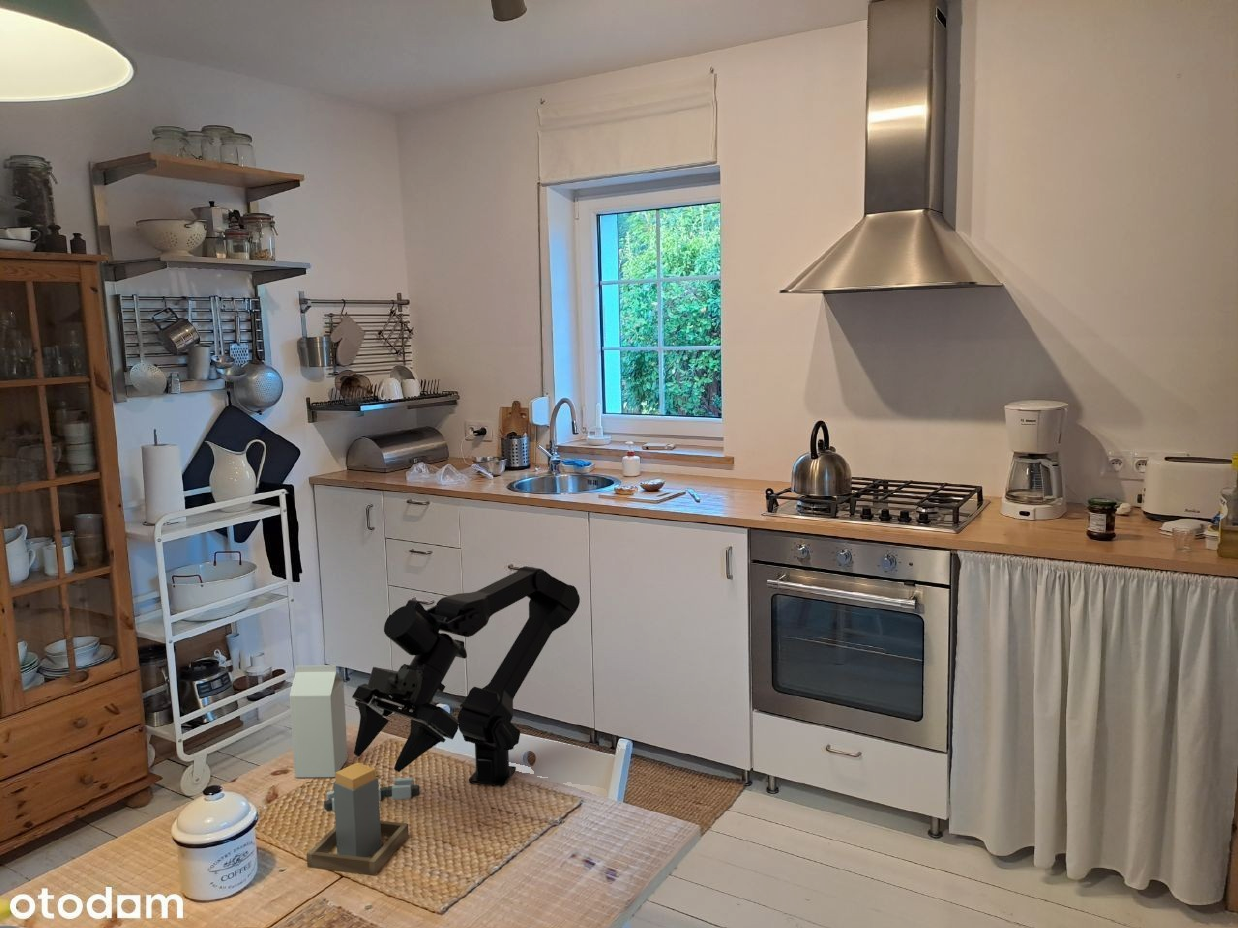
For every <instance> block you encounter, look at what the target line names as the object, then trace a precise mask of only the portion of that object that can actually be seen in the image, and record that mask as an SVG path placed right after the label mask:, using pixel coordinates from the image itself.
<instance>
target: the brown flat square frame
mask: <svg viewBox="0 0 1238 928" xmlns="http://www.w3.org/2000/svg"><path fill="white" fill-rule="evenodd" d="M380 825H381V837H389V838H388V840H387V841H386V842H385V843H384V844H383V845H382V848H381V849H380V850H379V851H378V852H376V853H374V854H373V856H372V858H371V857H367V858H365V857H356V856H348V855H340V854H337V853H331V852H330V851H331V850H332V848H333V847H334V846H335V845H337V840H336V825H335V826H333V827H332V829H330V830H329V831H328V832H327V833H326V834H325V835H324V836H323V837H322V838H321V839H320V840H319V841H318V842H317V843H316V844H315V845H314V846H313V847H312V848H311V849H310V850H308V851H307V852H306V867H307V868H312V869H313V868H314V869H320V870H328V871H338V872H345V873H352V874H353V873H354V874H360V875H368V876H376V875H377V874H378V873H379V871H381V869H382V868H383V867H384V866H385V864H386V863H387V862H388V861H389V860H390V859H391V858H392V856H393V855H394V853H396V851H397V850H398V849H400V847H401V846H402V844H403V843H404V842H405V841H406V840H407V839H408V838H409V836H410V835H409V823H408V822H407V823H404V822H396V821H389V820H388V821H387V820H380Z"/></svg>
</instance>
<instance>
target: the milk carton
mask: <svg viewBox="0 0 1238 928" xmlns="http://www.w3.org/2000/svg"><path fill="white" fill-rule="evenodd" d="M344 685H345V684H344V679H343V678H342V676H341V675H340V674H339V672H338V671H337V665H331V664H330V665H295V673H294V678H293V682H292V685H291V689H290V692H289V704H290V705H289V706H290V707H289V708H290V723H291V724H290V725H291V736H292V737H291V739H292V755H293V756H292V757H293V770H294V778H335V773H336V772H338V771H340V770H342V768H343V767H344V765H345V763H346V762H347V761H348V740H347V738H348V736H347V721H346V703H345V702H346V701H345V686H344Z"/></svg>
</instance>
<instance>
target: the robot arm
mask: <svg viewBox="0 0 1238 928" xmlns="http://www.w3.org/2000/svg"><path fill="white" fill-rule="evenodd" d="M525 598H528V599H529V601H528V618H527V621H526V622H525V624H524V625H523V627H522V628H521V630H520V632H519V634H518V635H517V636H516V638H515V640H514V642H513V644H512V645H511V646H510V648H509V650H508V651H507V653H506V654H505V657H504V658H503V660H502V661H501V663H500V665H499V667H498V668H497V670H496V672H495V673H494V675H493V677H492V678H491V679H490V681H489V683H488V684H487V685H485V686H483V687H482V688H481V687H477V686H473V687H472V688H471V689H470V690H469V691H468V693H467V694H468V695H467V696H466V698H465V699H464V701H463V702H462V703H461V704H460V705H459V706H460V710H459V712H458V714H457V717H455V716H453V715H452V714H451V713H449V712H448V711H447V710H446V709H444V708H443V707H442V706H438V705H435V704H432V701H433V699H434V697H435V695H436V694H437V692H440V693H443V692H444V690H445V688H446V686H445V685H444V683H442V682H443V681H444V679H445V678H446V676H447V674H448V672H449V670H450V668H451V666H452V665H453V662H454V660H455V659H456V658H460V659H467V657H468V654H467V650H466V647H465V641H463V640H459V639H456V638H455V639H454V638H453V637H451V635H457V636H460V637H466V638H470V637H473V636H474V635H476V634H477V633H478V632H480V631H481V630H483V628H485V627H486V626H487V625H488V623H489V621H490V617H492V616H493V615H494V614H496V613H498V612H501V611H502V610H503V609H506V608H508V607H510V606H511V605H513V604H515V603H517V602H519V601H520V600H523V599H525ZM580 601H581V598H580V594H579V592H578V589H577V588H576V587H575V586H574V585H572V584H567V583H565V582H564V581H562V580H560V579H558V578H557V577H554V576H552V575H551V574H549V573H548V572H547V571H546V570H544V569H542V568H538V567H533V566H527V565H526V566H523V567H520V568H518V569H517V570H516V571H515V572H513V573H510V574H509V575H507V576H505V577H503V578H501V579H498V580H496V581H494V582H492V583H491V584H488V585H486V586H484V587H483V588H481V589H478V590H476V591H472V592H464V593H462V592H461V593H455V594H451V595H447V596H444V597H442V598H440V599H439V600H438V601H437V602H436V605H433V606H432V607H430V608H428V609H425V606H423V605H422V603H421V602H419V601H416V600H412V599H409V600H407V602H406V605H402V606H401V607H399V608H396V609H395V610H394V611H393V613H391V614H389V615H388V616H387V618H386V620H385V622H384V625H383V632H384V635H385V636H386V637H387V638H388V639H390V640H391V641H392V642H393V643H394V644H395V645H397V646H398V647H400V649H402V650H403V651H404V652H405V653H407V654H408V655H410V656H414V657H413V659H412V660H411V663H410V664H406V663H403V664H402V665H400V667H399V669H398V670H393V669H388V668H381V667H376V666H373V667H372V669H371V673H370V675H369V680H368V684H367V683H363V684H360V685H358V686H357V688H356V689H355V691H354V693H353V694H352V696H351V698H352V699H354V700H355V702H354V704H355V706H356V707H357V708H358V711H359V716H360V717H359V726H358V731H357V735H356V739H355V743H354V744H355V745H354V749H353V754H354V755H355V756H356V757H360V756H361V755H362V754H363V753H364V752H365V751H366V750H367V749H368V748H369V746H370V745H371V744H372V743H373V741H374V740H375V739H376V738H377V736H378V735H379V734H380V733H381V731H383V729H384V728H385V727H386V725H387V724H388V723H389V722H390V721H389V719H388V718H387V717H389V716H390V715H393V713H394V714H397V715H399V716H403V717H406V718H409V719H410V731H409V732H410V733H409V736H408V737H407V739H406V742H405V743H404V745H403V746H402V747H403V748H402V749H401V751H400V753H399V755H398V756H397V760H396V761H395V765H394V766H393V767H394V768H393V770H394V771H395V772H398V773H400V772H402V770H404V769H405V768H406V767H408V766H409V765H410V764H412V763H413V762H414V761H415V760H417V759H418V758H419V757H421V756H422V755H423V754H425V753H426V752H427V751H430V749H433V747H435V746H437V744H438V745H439V743H443V744H444V743H445V741H446V739H445V738H447V739H449V740H453V739H454V737H455V736H456V734H457V732H458V730H459V731H460V734H461V735H462V737H463V739H464V742H469V743H471V744H474V751H475V752H474V756H475V758H474V760H475V771H474V772H473V774H472V775H470V777H469V779H468V783H469V784H477V785H486V786H487V785H489V786H499V787H503V786H506V785H507V783H508V781H509V780H510V779H511V778H512V776H513V775H514V773H515V772H516V771H517V767H516V766H514V765H513V766H512V765H510V757H509V756H510V755H509V752H510V751H512V750H514V747H515V746H516V745H518V744H519V742H520V737H521V730H520V729H518V728H517V727H516V726H515V725H514V724H513V723H511V722H512V719H513V717H514V699H515V696H516V695H517V693H518V691H519V689H520V687H521V686H522V684H523V683H524V681H525V680H526V677H527V676H528V675H529V673H530V671H531V669H532V667H533V666H534V664H535V662H536V661H537V659H538V657H539V655H540V653H541V652H542V650H543V649H544V647H545V645H546V644H547V642H548V640H549V638H550V637H551V635H552V634H553V632H555V631H556V630H558V629H560V628H562V627H563V626H564V625H566V624H567V623H568V622H569V621H570V619H571V618H572V617H573V616H574V614H575V613H576V611H578V608H579V606H580ZM440 631H441V632H443V633H441V632H440ZM447 633H448V634H447ZM449 634H451V635H449Z"/></svg>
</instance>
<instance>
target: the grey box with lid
mask: <svg viewBox="0 0 1238 928" xmlns="http://www.w3.org/2000/svg"><path fill="white" fill-rule="evenodd" d="M334 778H335V779H334V780H335V781H334V782H333V783H332V784H333V788H332V789H333V790H334V805H335V812H334V820H335V822H334V823H335V826H336V840H337V843H336V854H340V855H348V856H356V857H365V858H370V856H372V855H375V854H376V853H377V852H378V851H379V850H380V849H381V848H382V846H383V845H382V836H381V825H380V821H381V809H380V808H381V807H380V806H381V805H380V801H379V787H380V784H379V785H378V781H379V778H377V777H376V769H375V768H373V767H371V766H368V765H365V764H363V763H361V762H355V763H353V764H351V765H349V766H347V767H344V768H343V769H342V768H341V769H340V771H338V772H336V773H335V777H334Z"/></svg>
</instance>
